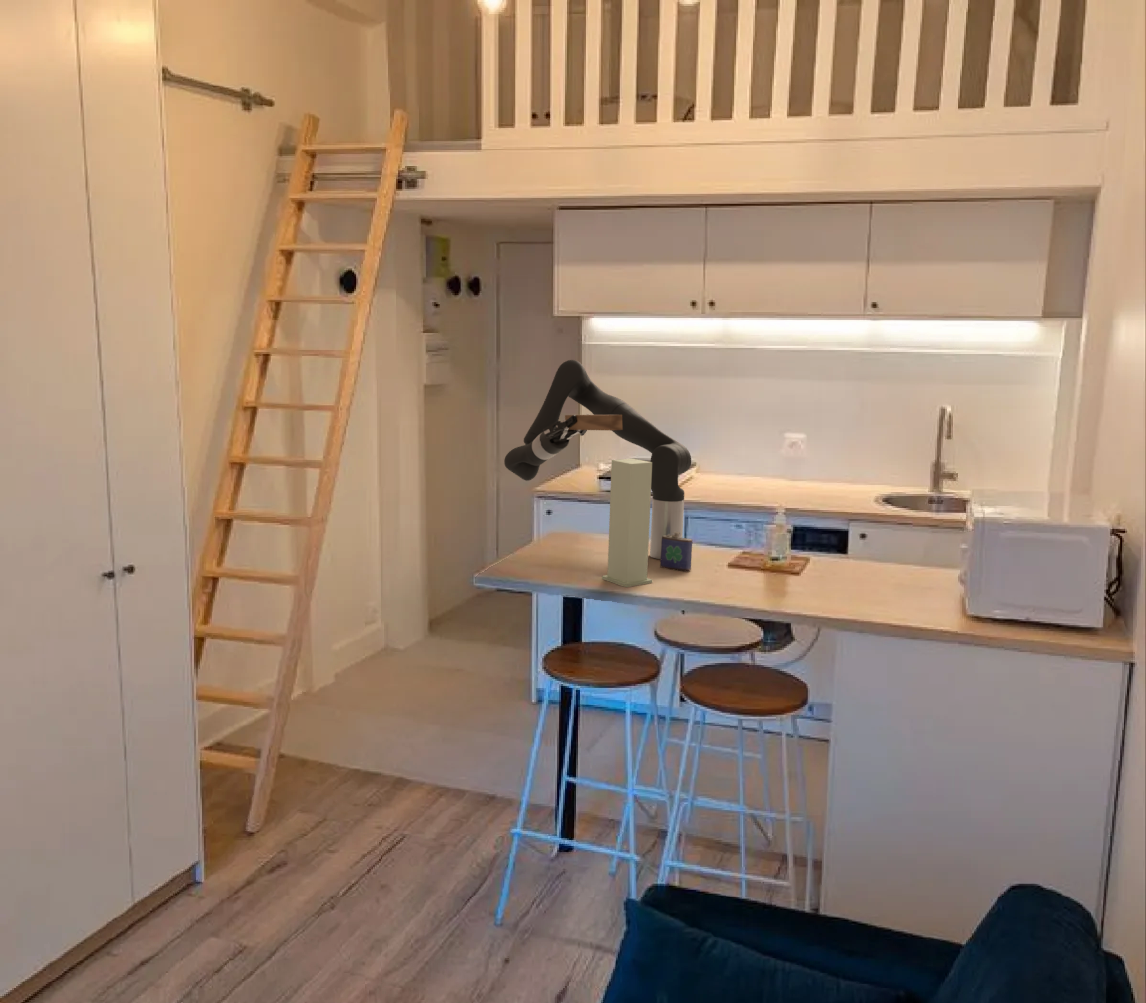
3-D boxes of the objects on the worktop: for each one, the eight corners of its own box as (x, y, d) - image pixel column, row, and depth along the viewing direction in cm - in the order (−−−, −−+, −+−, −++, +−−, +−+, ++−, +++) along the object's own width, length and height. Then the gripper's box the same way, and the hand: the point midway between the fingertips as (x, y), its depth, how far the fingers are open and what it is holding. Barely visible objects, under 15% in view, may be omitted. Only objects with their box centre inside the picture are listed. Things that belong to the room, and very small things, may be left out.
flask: (692, 570, 283) (694, 532, 281) (688, 572, 280) (689, 534, 279) (662, 565, 287) (663, 528, 286) (657, 567, 285) (659, 530, 283)
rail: (576, 429, 285) (576, 414, 284) (622, 429, 269) (622, 414, 268) (565, 429, 282) (565, 415, 282) (610, 430, 266) (610, 415, 266)
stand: (627, 574, 276) (632, 457, 270) (652, 582, 268) (657, 462, 262) (602, 578, 270) (606, 459, 265) (626, 587, 262) (631, 464, 257)
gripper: (573, 453, 295) (606, 429, 282) (533, 456, 287) (565, 431, 274) (566, 429, 297) (599, 404, 284) (526, 431, 289) (557, 405, 275)
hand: (582, 417), depth 279 cm, fingers closed on rail, 4 cm apart
